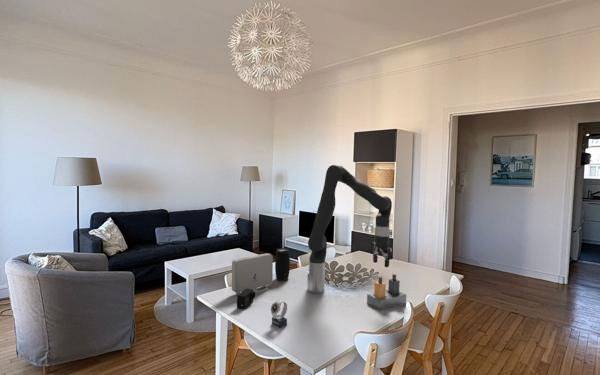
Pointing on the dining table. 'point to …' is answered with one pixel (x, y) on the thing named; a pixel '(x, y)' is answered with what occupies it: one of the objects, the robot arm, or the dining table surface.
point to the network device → (252, 273)
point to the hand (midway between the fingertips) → (380, 264)
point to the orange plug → (380, 288)
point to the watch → (279, 319)
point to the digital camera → (245, 298)
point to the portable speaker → (282, 264)
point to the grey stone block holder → (386, 300)
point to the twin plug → (393, 285)
